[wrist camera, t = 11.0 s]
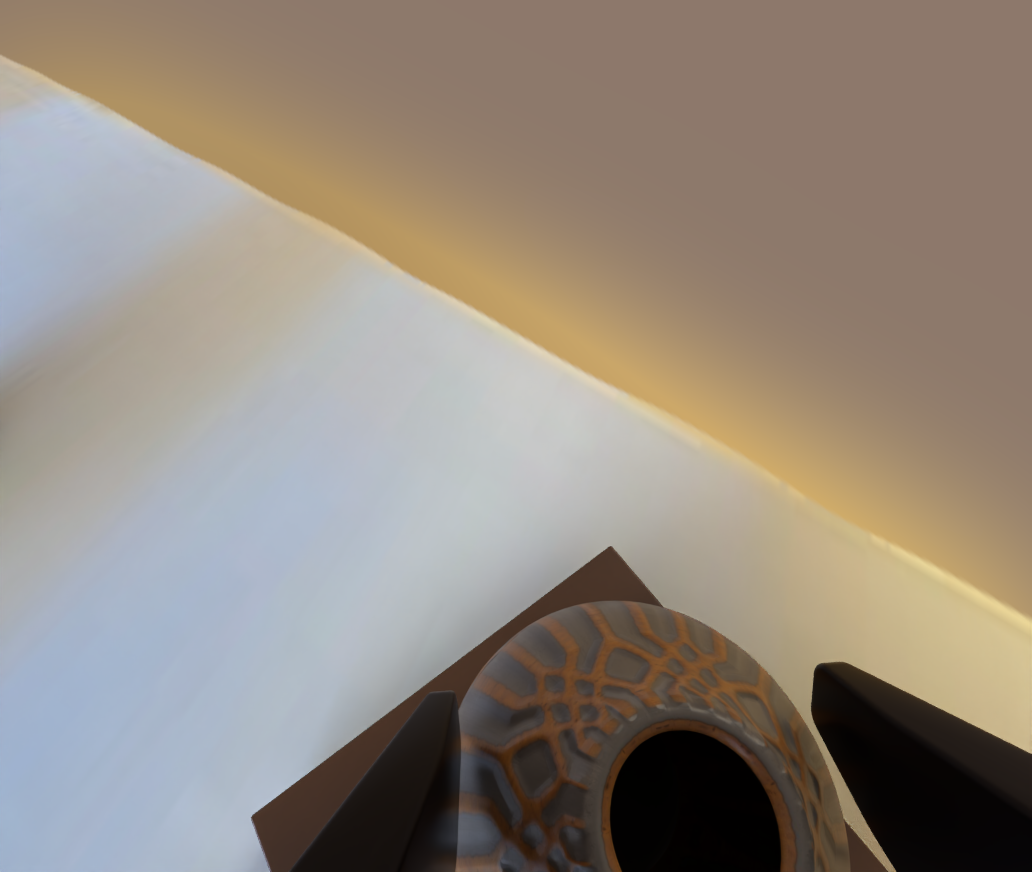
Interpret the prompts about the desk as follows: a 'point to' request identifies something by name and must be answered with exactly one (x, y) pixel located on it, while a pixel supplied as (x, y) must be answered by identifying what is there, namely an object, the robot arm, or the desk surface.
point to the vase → (638, 754)
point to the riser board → (324, 789)
